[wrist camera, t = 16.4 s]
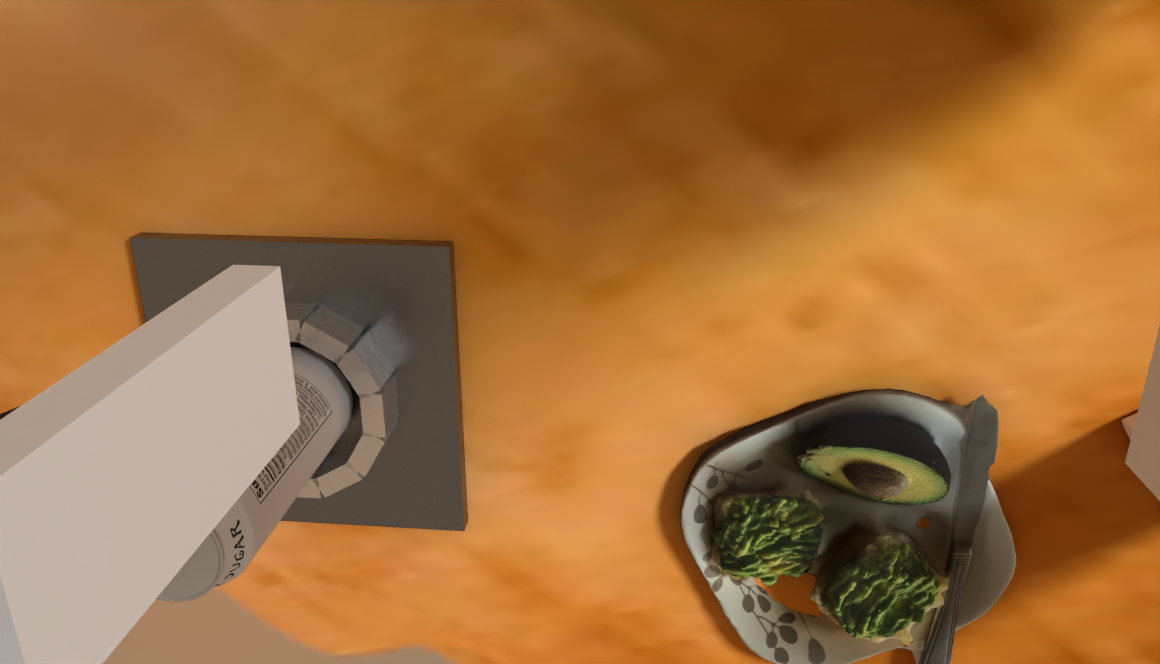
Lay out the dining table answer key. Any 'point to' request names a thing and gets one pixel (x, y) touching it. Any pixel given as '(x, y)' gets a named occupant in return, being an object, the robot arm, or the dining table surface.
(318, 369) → the energy drink can
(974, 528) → the salad plate
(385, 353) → the ring collar
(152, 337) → the robot arm
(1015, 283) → the dining table surface
